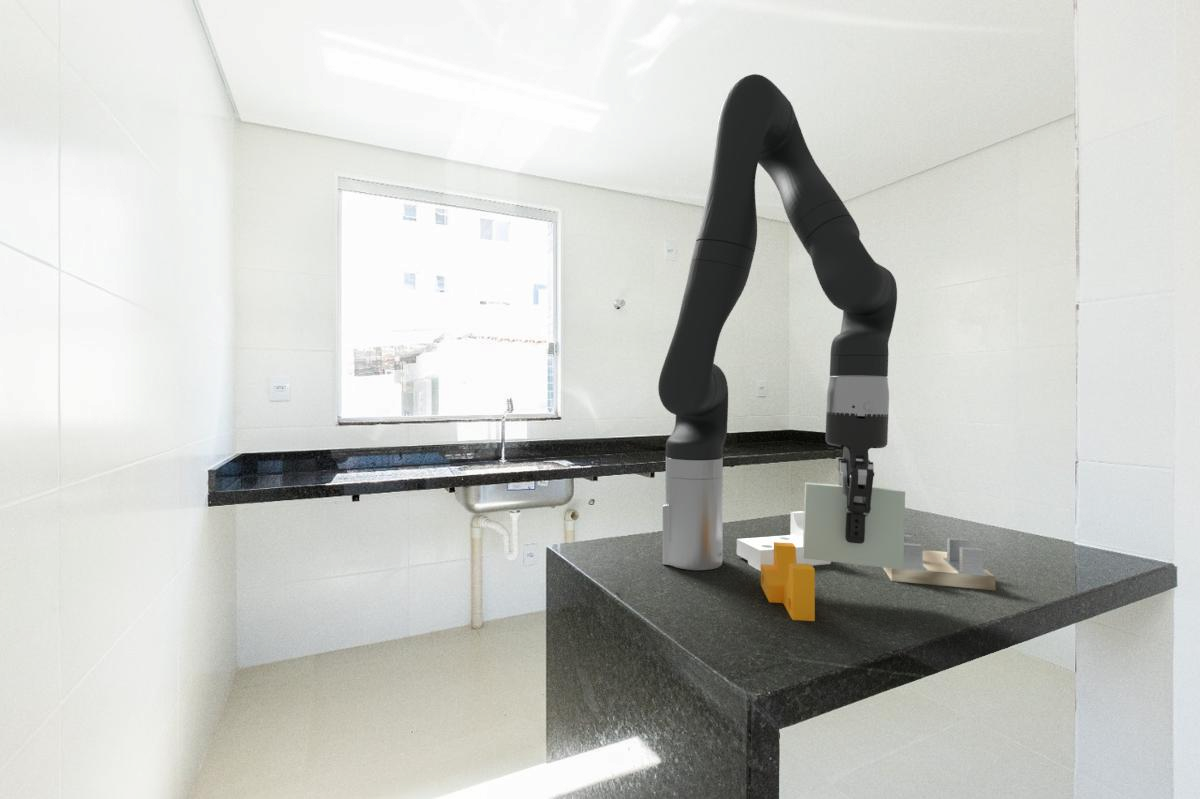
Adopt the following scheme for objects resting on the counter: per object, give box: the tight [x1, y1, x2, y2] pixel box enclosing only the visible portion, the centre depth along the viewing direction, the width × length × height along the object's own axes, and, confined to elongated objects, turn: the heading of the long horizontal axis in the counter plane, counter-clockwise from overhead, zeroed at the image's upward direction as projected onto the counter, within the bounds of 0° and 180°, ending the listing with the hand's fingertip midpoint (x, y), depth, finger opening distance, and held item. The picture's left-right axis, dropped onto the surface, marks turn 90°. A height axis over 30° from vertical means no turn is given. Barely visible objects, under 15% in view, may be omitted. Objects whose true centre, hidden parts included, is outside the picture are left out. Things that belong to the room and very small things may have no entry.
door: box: [803, 482, 906, 570], centre depth 72 cm, size 12×4×10 cm, turn 72°
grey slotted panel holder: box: [903, 534, 988, 576], centre depth 81 cm, size 11×7×4 cm, turn 73°
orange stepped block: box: [760, 542, 816, 622], centre depth 71 cm, size 12×4×6 cm, turn 173°
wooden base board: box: [882, 549, 996, 591], centre depth 83 cm, size 13×12×2 cm
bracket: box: [736, 510, 832, 572], centre depth 89 cm, size 13×7×8 cm, turn 106°
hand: (852, 537), depth 73 cm, fingers closed on door, 4 cm apart
